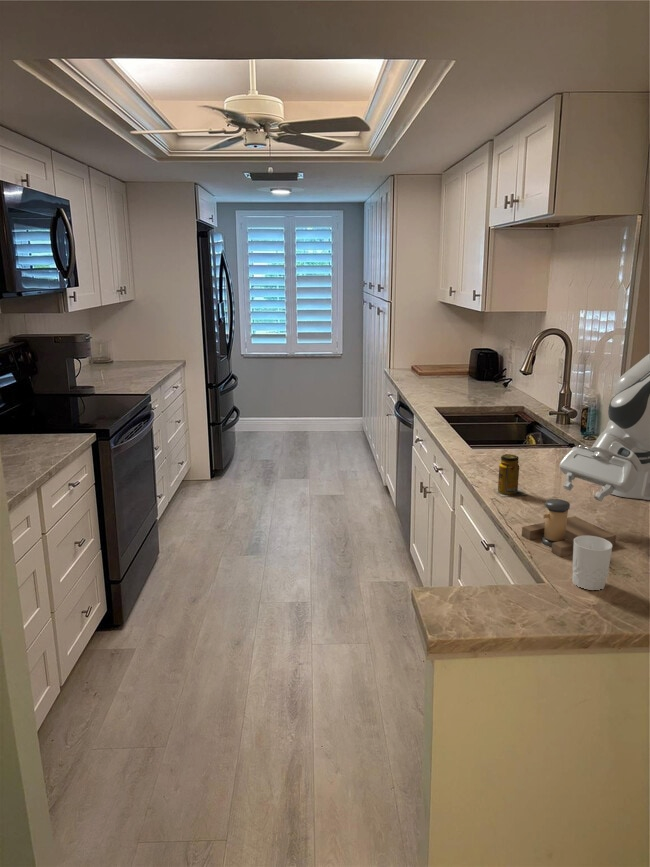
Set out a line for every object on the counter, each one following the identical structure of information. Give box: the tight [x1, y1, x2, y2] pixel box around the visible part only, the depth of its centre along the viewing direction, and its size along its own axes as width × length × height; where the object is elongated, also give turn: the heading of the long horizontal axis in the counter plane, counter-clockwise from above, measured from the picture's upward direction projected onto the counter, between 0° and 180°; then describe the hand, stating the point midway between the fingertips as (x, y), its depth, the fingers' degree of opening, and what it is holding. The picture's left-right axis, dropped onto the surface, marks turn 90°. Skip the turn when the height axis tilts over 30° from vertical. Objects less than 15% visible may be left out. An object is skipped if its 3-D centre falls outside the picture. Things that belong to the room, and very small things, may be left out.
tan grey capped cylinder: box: [541, 498, 571, 548], centre depth 159 cm, size 7×6×11 cm
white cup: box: [571, 536, 614, 591], centre depth 138 cm, size 8×8×10 cm
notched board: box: [521, 515, 617, 558], centre depth 162 cm, size 18×14×2 cm
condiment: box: [493, 453, 528, 497], centre depth 196 cm, size 7×8×12 cm
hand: (581, 494), depth 164 cm, fingers open, 8 cm apart
